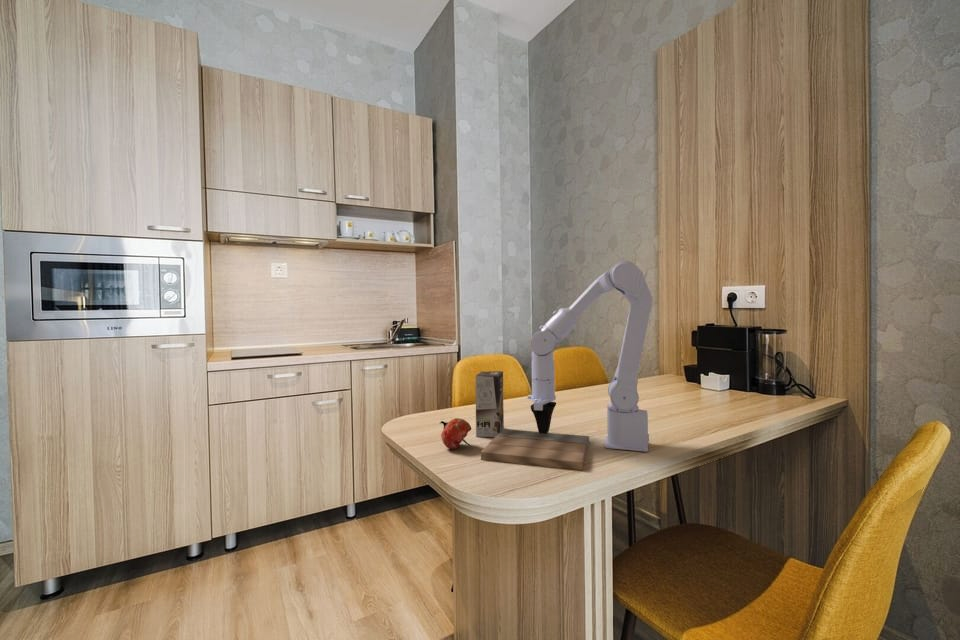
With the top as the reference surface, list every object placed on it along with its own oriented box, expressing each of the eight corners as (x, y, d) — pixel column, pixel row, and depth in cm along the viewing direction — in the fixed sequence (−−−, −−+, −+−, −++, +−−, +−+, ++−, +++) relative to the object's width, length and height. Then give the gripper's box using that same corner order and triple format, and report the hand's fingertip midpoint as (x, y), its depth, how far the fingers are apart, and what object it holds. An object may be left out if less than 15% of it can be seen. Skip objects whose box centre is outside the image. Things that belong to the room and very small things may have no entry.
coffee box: (499, 438, 110) (498, 376, 109) (475, 437, 111) (474, 375, 110) (504, 428, 119) (503, 370, 118) (482, 427, 120) (481, 370, 119)
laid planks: (586, 451, 99) (586, 444, 99) (581, 470, 87) (581, 462, 87) (496, 442, 106) (496, 436, 106) (480, 459, 94) (480, 451, 94)
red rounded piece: (471, 451, 106) (441, 425, 108) (486, 431, 104) (456, 405, 106) (459, 465, 99) (427, 437, 102) (475, 444, 97) (442, 415, 99)
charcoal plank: (589, 442, 106) (589, 436, 106) (586, 450, 99) (586, 443, 99) (504, 434, 113) (504, 429, 113) (496, 441, 106) (496, 435, 106)
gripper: (533, 373, 115) (534, 423, 115) (521, 383, 101) (521, 439, 102) (559, 374, 113) (560, 425, 113) (550, 384, 99) (551, 442, 99)
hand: (543, 432), depth 107 cm, fingers closed
